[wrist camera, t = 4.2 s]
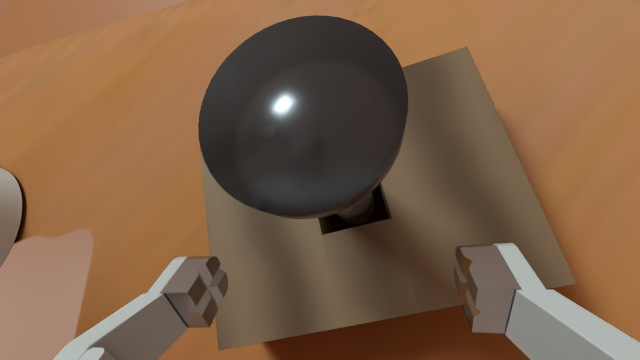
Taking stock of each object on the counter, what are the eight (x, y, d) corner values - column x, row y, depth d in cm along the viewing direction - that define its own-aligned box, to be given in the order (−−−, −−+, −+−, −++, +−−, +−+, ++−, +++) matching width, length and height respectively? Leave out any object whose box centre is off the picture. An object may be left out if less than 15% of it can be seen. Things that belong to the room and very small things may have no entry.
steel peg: (329, 247, 22) (208, 239, 7) (315, 181, 23) (191, 55, 8) (400, 231, 21) (442, 178, 6) (379, 164, 23) (372, -13, 7)
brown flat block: (254, 328, 22) (218, 350, 17) (232, 155, 26) (198, 133, 21) (527, 275, 18) (577, 283, 14) (449, 88, 23) (467, 46, 18)
